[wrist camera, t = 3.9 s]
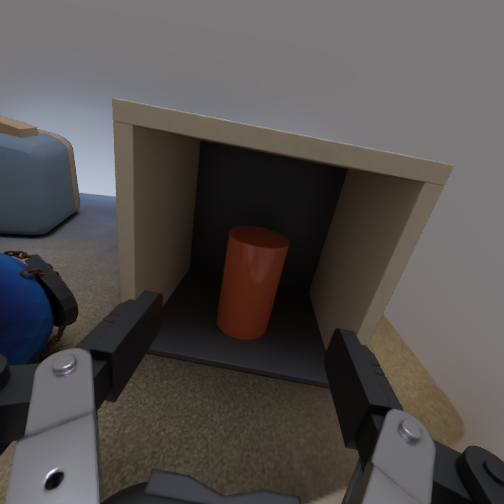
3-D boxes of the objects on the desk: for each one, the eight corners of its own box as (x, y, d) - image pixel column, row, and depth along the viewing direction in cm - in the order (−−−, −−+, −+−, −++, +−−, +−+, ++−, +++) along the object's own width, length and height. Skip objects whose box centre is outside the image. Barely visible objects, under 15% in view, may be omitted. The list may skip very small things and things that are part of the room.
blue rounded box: (84, 211, 50) (76, 128, 44) (48, 240, 36) (30, 123, 30) (-18, 202, 45) (-42, 105, 39) (-106, 232, 31) (-167, 88, 25)
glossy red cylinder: (266, 308, 29) (285, 231, 25) (270, 343, 24) (295, 252, 20) (219, 301, 29) (230, 222, 25) (212, 336, 23) (226, 241, 19)
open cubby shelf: (314, 293, 36) (358, 160, 28) (346, 391, 21) (455, 164, 14) (183, 268, 36) (194, 128, 28) (121, 348, 21) (111, 97, 14)
